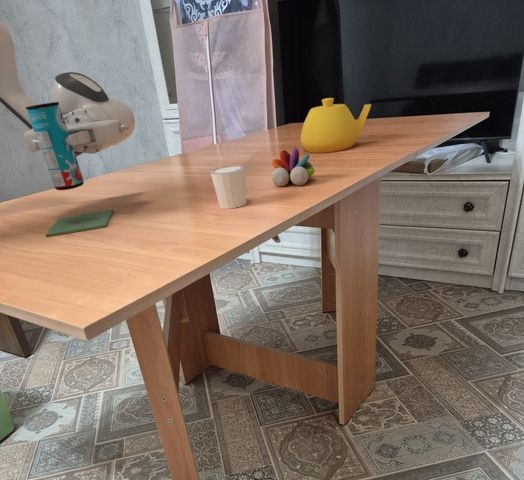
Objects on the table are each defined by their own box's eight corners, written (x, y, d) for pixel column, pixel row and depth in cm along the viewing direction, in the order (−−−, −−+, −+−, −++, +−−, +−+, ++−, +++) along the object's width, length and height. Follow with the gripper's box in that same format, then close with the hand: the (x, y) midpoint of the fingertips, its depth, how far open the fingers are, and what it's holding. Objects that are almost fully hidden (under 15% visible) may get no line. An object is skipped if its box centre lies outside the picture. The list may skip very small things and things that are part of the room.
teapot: (298, 156, 131) (294, 105, 124) (305, 143, 146) (302, 98, 139) (371, 149, 126) (371, 96, 120) (370, 137, 142) (370, 89, 135)
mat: (46, 237, 93) (45, 234, 93) (59, 220, 103) (58, 218, 103) (106, 227, 94) (105, 224, 94) (113, 211, 104) (112, 209, 104)
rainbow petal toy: (279, 178, 111) (276, 146, 107) (319, 177, 107) (317, 143, 103) (267, 188, 104) (263, 154, 100) (309, 186, 101) (307, 151, 97)
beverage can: (83, 187, 92) (55, 103, 84) (52, 192, 92) (22, 108, 84) (86, 181, 97) (60, 101, 89) (57, 186, 97) (29, 106, 89)
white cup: (240, 197, 100) (235, 163, 96) (255, 203, 95) (250, 167, 91) (211, 205, 98) (205, 170, 94) (224, 212, 92) (218, 175, 89)
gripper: (136, 141, 100) (104, 155, 88) (54, 150, 105) (15, 164, 94) (128, 109, 96) (94, 119, 85) (44, 119, 101) (1, 130, 90)
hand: (51, 143), depth 89 cm, fingers closed on beverage can, 6 cm apart
